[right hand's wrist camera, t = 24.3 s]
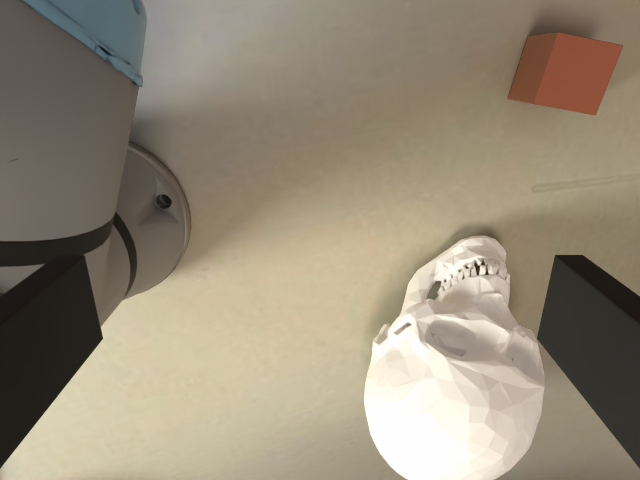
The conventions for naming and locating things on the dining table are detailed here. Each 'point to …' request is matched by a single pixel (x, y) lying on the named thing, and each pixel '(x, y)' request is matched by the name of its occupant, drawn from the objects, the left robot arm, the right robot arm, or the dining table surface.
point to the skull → (455, 372)
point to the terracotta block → (564, 72)
